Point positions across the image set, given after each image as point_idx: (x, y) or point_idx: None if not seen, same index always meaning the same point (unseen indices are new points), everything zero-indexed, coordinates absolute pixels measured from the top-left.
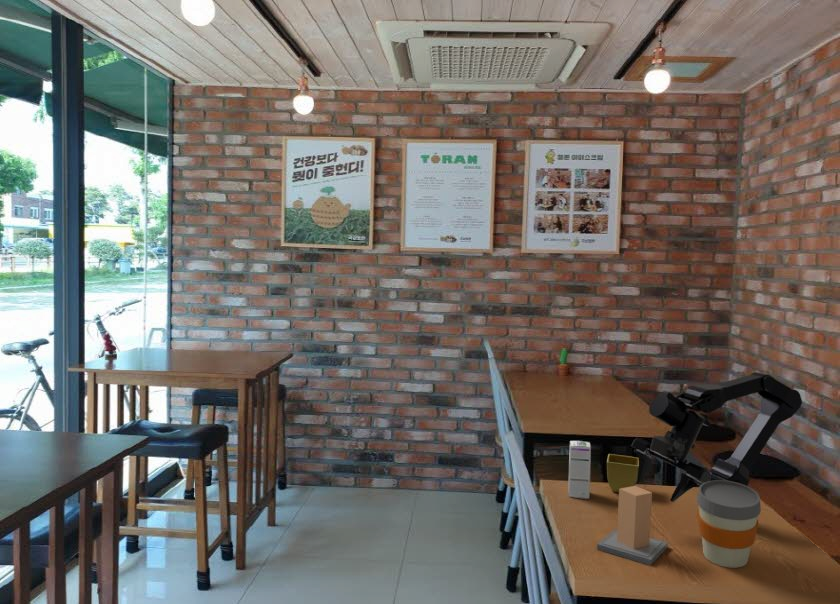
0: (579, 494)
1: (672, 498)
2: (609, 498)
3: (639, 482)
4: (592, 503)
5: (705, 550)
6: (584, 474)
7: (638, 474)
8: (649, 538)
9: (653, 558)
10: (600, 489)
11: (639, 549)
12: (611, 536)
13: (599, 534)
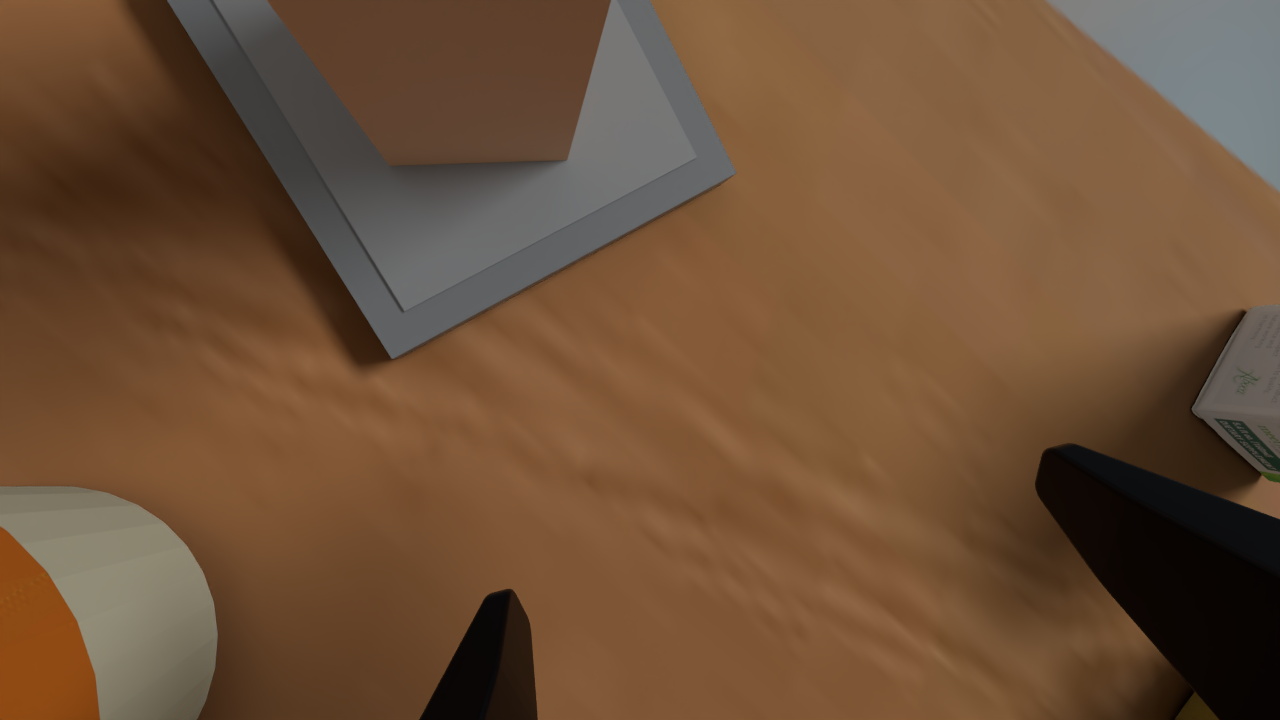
0: (1245, 359)
1: (478, 622)
2: None
3: (1055, 479)
4: (1132, 382)
5: (43, 492)
6: None
7: (1218, 506)
8: (376, 146)
9: (182, 22)
10: None
11: None
12: (628, 17)
13: (743, 54)
